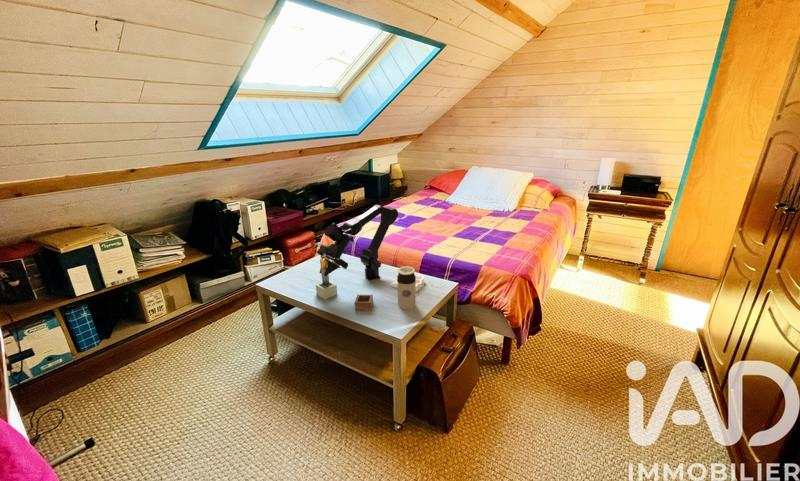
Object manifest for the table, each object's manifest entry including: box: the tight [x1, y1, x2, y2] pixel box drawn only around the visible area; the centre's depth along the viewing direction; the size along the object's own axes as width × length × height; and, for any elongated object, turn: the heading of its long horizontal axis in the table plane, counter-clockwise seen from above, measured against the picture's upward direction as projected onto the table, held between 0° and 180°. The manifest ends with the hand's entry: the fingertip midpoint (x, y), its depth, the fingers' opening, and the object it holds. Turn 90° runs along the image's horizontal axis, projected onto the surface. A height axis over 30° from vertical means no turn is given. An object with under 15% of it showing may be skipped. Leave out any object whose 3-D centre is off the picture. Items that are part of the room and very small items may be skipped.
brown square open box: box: [354, 294, 374, 312], centre depth 161 cm, size 7×7×5 cm
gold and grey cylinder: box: [319, 258, 330, 286], centre depth 168 cm, size 3×3×12 cm
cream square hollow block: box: [315, 280, 338, 300], centre depth 172 cm, size 7×7×6 cm
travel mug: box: [396, 266, 417, 310], centre depth 159 cm, size 8×8×18 cm
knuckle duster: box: [389, 274, 425, 293], centre depth 179 cm, size 3×18×15 cm
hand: (322, 274), depth 168 cm, fingers closed on gold and grey cylinder, 3 cm apart
